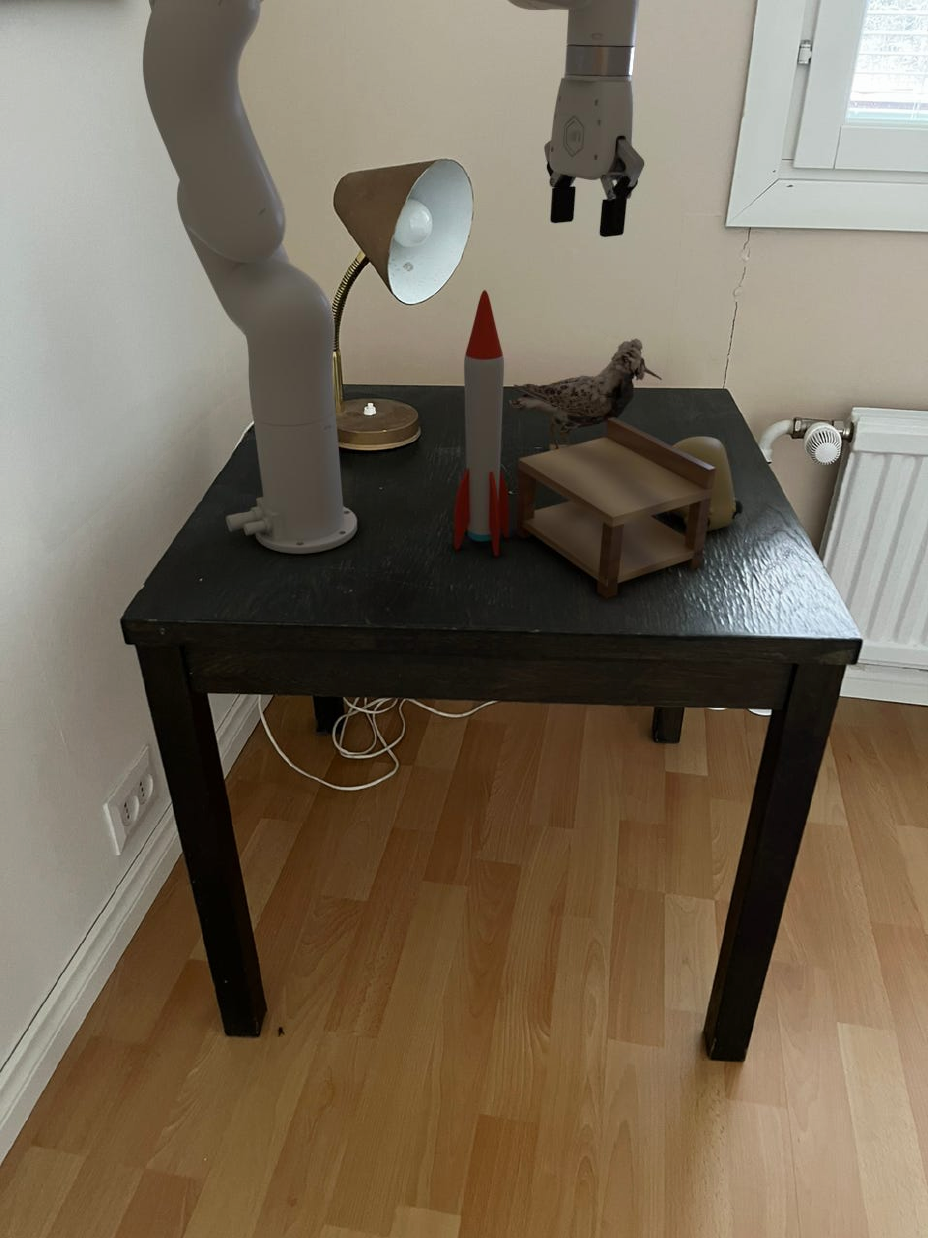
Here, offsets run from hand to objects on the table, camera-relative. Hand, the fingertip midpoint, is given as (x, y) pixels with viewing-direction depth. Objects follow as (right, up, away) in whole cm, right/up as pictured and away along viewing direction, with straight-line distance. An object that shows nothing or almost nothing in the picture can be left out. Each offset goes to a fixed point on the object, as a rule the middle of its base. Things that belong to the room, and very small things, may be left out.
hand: (585, 228), depth 115 cm
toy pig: (+15, -34, +7) cm, 38 cm away
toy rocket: (-13, -38, +1) cm, 40 cm away
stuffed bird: (+2, -25, +22) cm, 33 cm away
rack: (+2, -39, -1) cm, 39 cm away
